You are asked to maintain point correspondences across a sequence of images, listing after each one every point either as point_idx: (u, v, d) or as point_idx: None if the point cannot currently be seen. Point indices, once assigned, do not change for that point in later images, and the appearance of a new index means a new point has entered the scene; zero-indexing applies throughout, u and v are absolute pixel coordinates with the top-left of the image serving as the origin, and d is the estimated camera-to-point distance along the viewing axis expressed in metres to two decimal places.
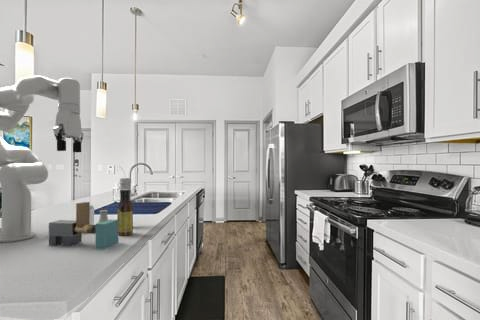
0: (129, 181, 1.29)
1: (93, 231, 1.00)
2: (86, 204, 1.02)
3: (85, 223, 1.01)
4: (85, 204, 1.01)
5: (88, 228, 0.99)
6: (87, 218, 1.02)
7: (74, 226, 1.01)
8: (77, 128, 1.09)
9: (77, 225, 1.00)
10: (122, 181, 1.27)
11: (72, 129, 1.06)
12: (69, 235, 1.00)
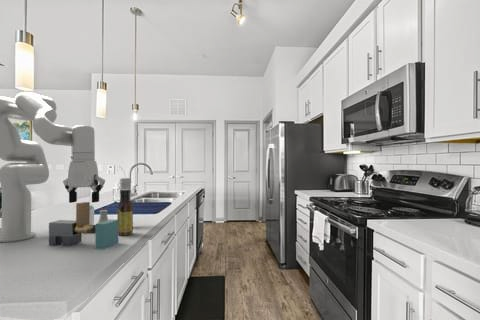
0: (129, 181, 1.29)
1: (93, 231, 1.00)
2: (86, 204, 1.02)
3: (85, 223, 1.01)
4: (85, 204, 1.01)
5: (88, 228, 0.99)
6: (87, 218, 1.02)
7: (74, 226, 1.01)
8: None
9: (77, 225, 1.00)
10: (122, 181, 1.27)
11: None
12: (69, 235, 1.00)
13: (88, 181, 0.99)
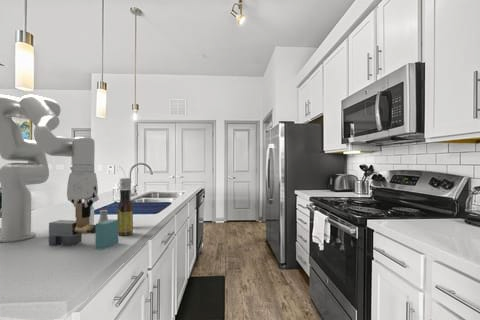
0: (129, 181, 1.29)
1: (93, 231, 1.00)
2: None
3: (85, 223, 1.01)
4: None
5: (88, 228, 0.99)
6: (87, 218, 1.02)
7: (74, 226, 1.01)
8: None
9: (77, 225, 1.00)
10: (122, 181, 1.27)
11: None
12: (69, 235, 1.00)
13: (87, 193, 0.99)
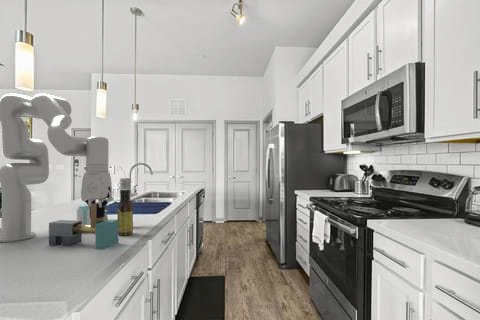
0: (129, 181, 1.29)
1: None
2: None
3: None
4: None
5: None
6: (101, 218, 1.01)
7: (88, 226, 1.00)
8: None
9: (91, 225, 0.99)
10: (122, 181, 1.27)
11: None
12: (69, 235, 1.00)
13: (102, 193, 0.98)
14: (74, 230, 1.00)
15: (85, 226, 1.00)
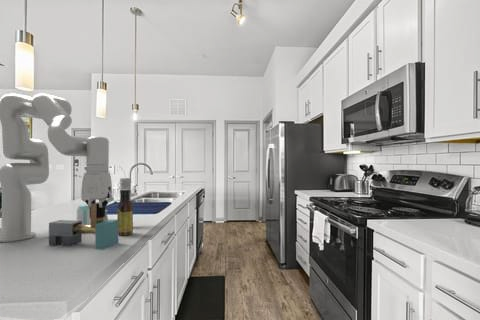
0: (129, 181, 1.29)
1: None
2: None
3: None
4: None
5: None
6: (101, 218, 1.01)
7: (88, 226, 1.00)
8: None
9: (91, 225, 0.99)
10: (122, 181, 1.27)
11: None
12: (69, 235, 1.00)
13: (102, 193, 0.98)
14: (74, 230, 1.00)
15: (85, 226, 1.00)
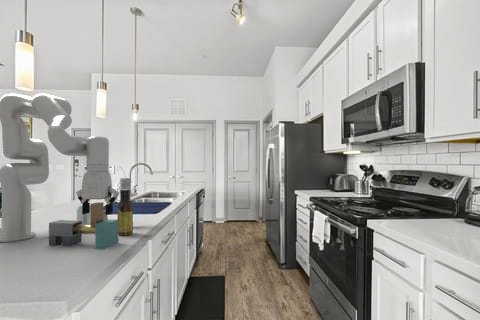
0: (129, 181, 1.29)
1: None
2: (100, 204, 1.01)
3: None
4: (99, 204, 1.00)
5: None
6: (101, 218, 1.01)
7: (88, 226, 1.00)
8: None
9: (91, 225, 0.99)
10: (122, 181, 1.27)
11: None
12: (69, 235, 1.00)
13: (102, 193, 0.98)
14: (74, 230, 1.00)
15: (85, 226, 1.00)
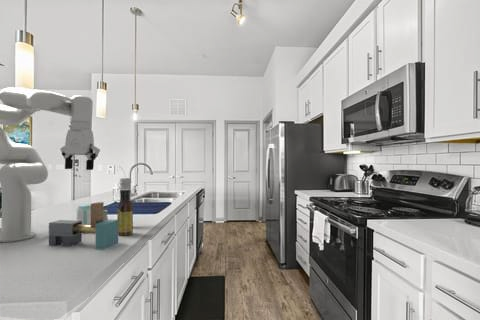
0: (129, 181, 1.29)
1: None
2: (100, 204, 1.01)
3: None
4: (99, 204, 1.00)
5: None
6: (101, 218, 1.01)
7: (88, 226, 1.00)
8: None
9: (91, 225, 0.99)
10: (122, 181, 1.27)
11: None
12: (69, 235, 1.00)
13: (83, 149, 1.03)
14: (74, 230, 1.00)
15: (85, 226, 1.00)
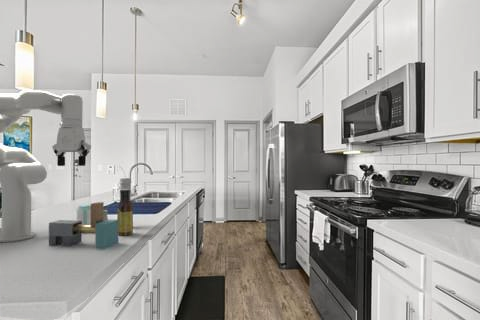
0: (129, 181, 1.29)
1: None
2: (100, 204, 1.01)
3: None
4: (99, 204, 1.00)
5: None
6: (101, 218, 1.01)
7: (88, 226, 1.00)
8: None
9: (91, 225, 0.99)
10: (122, 181, 1.27)
11: None
12: (69, 235, 1.00)
13: (75, 145, 1.06)
14: (74, 230, 1.00)
15: (85, 226, 1.00)
